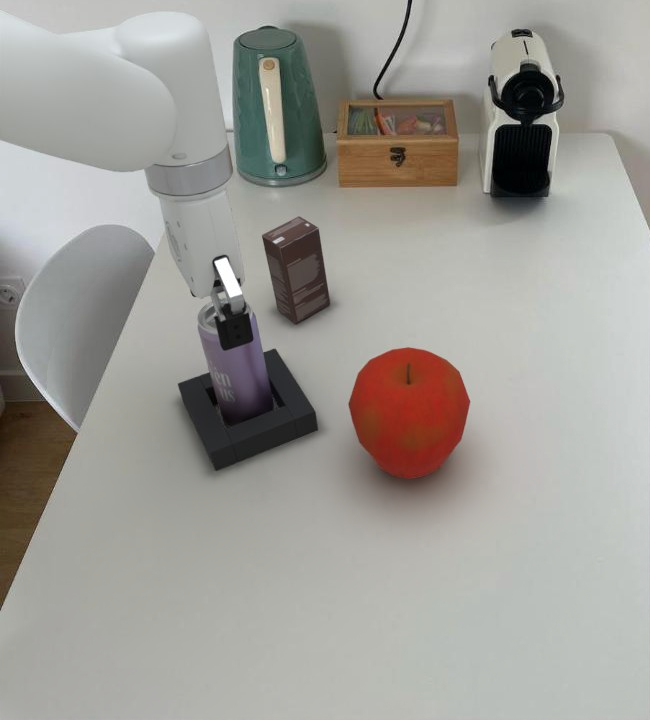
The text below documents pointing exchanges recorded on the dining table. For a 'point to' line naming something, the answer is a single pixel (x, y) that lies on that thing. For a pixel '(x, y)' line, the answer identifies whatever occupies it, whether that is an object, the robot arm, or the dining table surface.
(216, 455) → the socket pad
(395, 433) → the apple
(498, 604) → the dining table surface
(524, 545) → the dining table surface
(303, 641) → the dining table surface
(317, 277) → the box
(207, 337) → the beverage can
